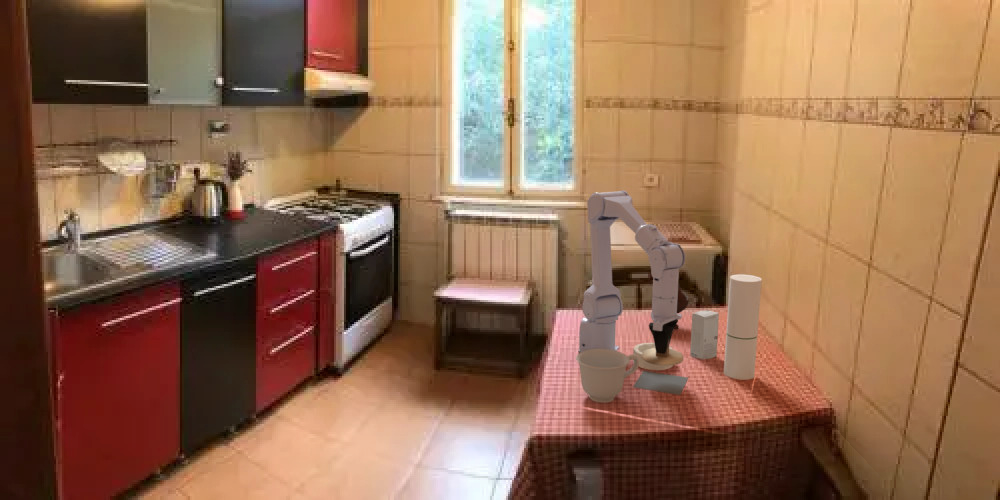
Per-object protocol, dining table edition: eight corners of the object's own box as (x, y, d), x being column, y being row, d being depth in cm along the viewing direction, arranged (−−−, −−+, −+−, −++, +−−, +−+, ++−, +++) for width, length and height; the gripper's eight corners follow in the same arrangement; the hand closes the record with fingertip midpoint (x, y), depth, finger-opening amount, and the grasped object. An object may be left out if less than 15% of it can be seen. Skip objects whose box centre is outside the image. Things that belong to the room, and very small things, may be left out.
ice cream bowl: (692, 332, 197) (695, 283, 194) (654, 332, 197) (656, 283, 194) (683, 321, 207) (685, 274, 204) (647, 321, 207) (649, 274, 204)
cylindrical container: (753, 372, 167) (761, 275, 162) (754, 382, 161) (762, 282, 156) (723, 368, 170) (730, 273, 164) (723, 379, 163) (729, 280, 158)
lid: (637, 362, 157) (638, 343, 156) (646, 348, 165) (647, 331, 164) (679, 367, 153) (679, 348, 152) (686, 353, 161) (687, 335, 160)
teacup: (649, 405, 149) (651, 362, 147) (588, 413, 145) (589, 370, 143) (624, 384, 161) (626, 344, 159) (567, 392, 157) (567, 351, 154)
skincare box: (702, 361, 175) (704, 317, 172) (688, 356, 178) (691, 312, 176) (717, 356, 178) (720, 313, 175) (704, 351, 182) (706, 308, 179)
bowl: (628, 367, 171) (629, 353, 170) (638, 354, 180) (638, 340, 179) (669, 374, 166) (669, 359, 166) (676, 360, 175) (677, 346, 175)
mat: (632, 388, 158) (632, 386, 158) (643, 372, 168) (643, 370, 168) (679, 396, 153) (680, 394, 153) (688, 379, 163) (688, 377, 163)
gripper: (676, 306, 148) (673, 363, 151) (687, 289, 161) (684, 343, 164) (644, 302, 151) (642, 358, 154) (658, 286, 164) (656, 339, 166)
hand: (662, 350), depth 159 cm, fingers closed on lid, 3 cm apart
